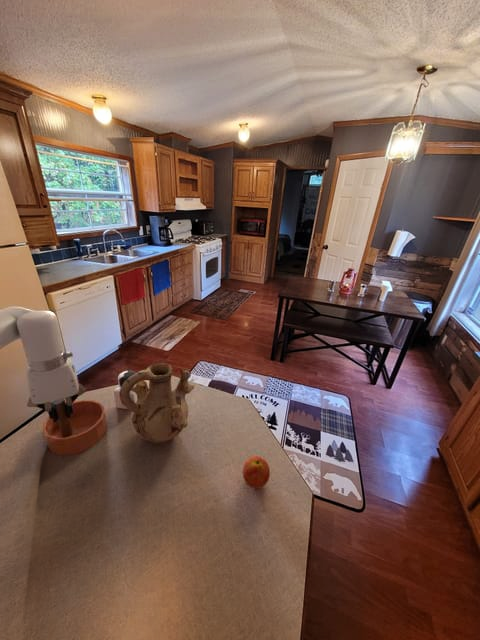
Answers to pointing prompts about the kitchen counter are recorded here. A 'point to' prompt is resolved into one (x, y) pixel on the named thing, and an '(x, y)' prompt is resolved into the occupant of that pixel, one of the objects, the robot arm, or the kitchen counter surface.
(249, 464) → the fruit
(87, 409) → the bowl
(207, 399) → the kitchen counter surface
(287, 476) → the kitchen counter surface
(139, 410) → the ceramic vessel
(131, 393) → the medicine bottle
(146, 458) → the kitchen counter surface
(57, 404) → the pestle
